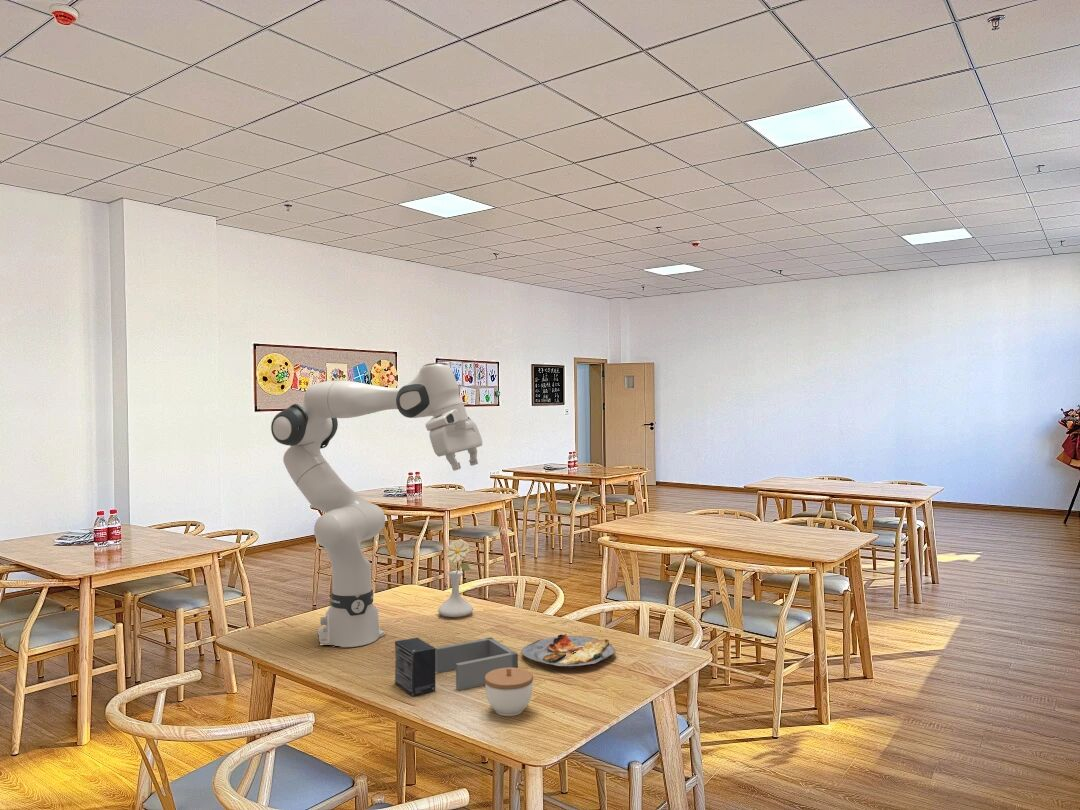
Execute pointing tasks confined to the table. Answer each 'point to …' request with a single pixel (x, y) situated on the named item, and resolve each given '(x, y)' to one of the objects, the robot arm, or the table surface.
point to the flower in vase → (456, 582)
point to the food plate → (568, 650)
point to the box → (474, 660)
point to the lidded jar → (509, 690)
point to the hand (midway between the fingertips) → (466, 467)
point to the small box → (415, 666)
